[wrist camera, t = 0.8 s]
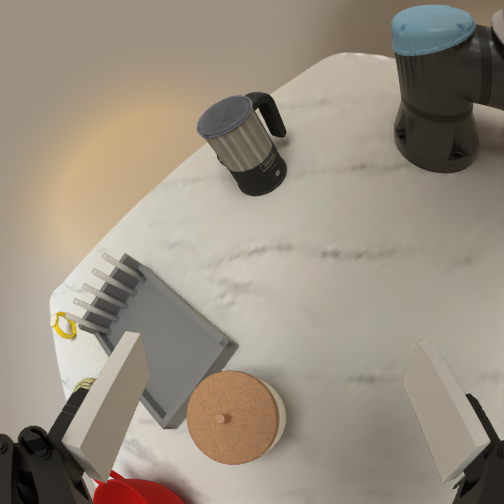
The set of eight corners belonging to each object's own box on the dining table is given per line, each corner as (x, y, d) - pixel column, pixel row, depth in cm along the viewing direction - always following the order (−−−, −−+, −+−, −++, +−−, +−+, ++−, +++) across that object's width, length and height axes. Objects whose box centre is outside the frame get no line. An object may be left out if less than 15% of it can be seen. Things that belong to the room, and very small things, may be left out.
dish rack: (148, 268, 53) (106, 240, 45) (239, 345, 40) (193, 326, 31) (104, 335, 51) (58, 317, 42) (176, 428, 37) (121, 428, 28)
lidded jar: (234, 463, 32) (194, 475, 24) (209, 392, 38) (166, 387, 31) (310, 438, 30) (287, 451, 23) (278, 363, 36) (248, 352, 29)
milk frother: (279, 198, 48) (239, 132, 36) (202, 196, 56) (155, 145, 44) (298, 137, 53) (269, 73, 41) (228, 142, 61) (192, 90, 49)
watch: (70, 321, 58) (50, 311, 53) (76, 315, 58) (56, 305, 53) (72, 343, 54) (50, 334, 49) (78, 337, 54) (56, 327, 49)
